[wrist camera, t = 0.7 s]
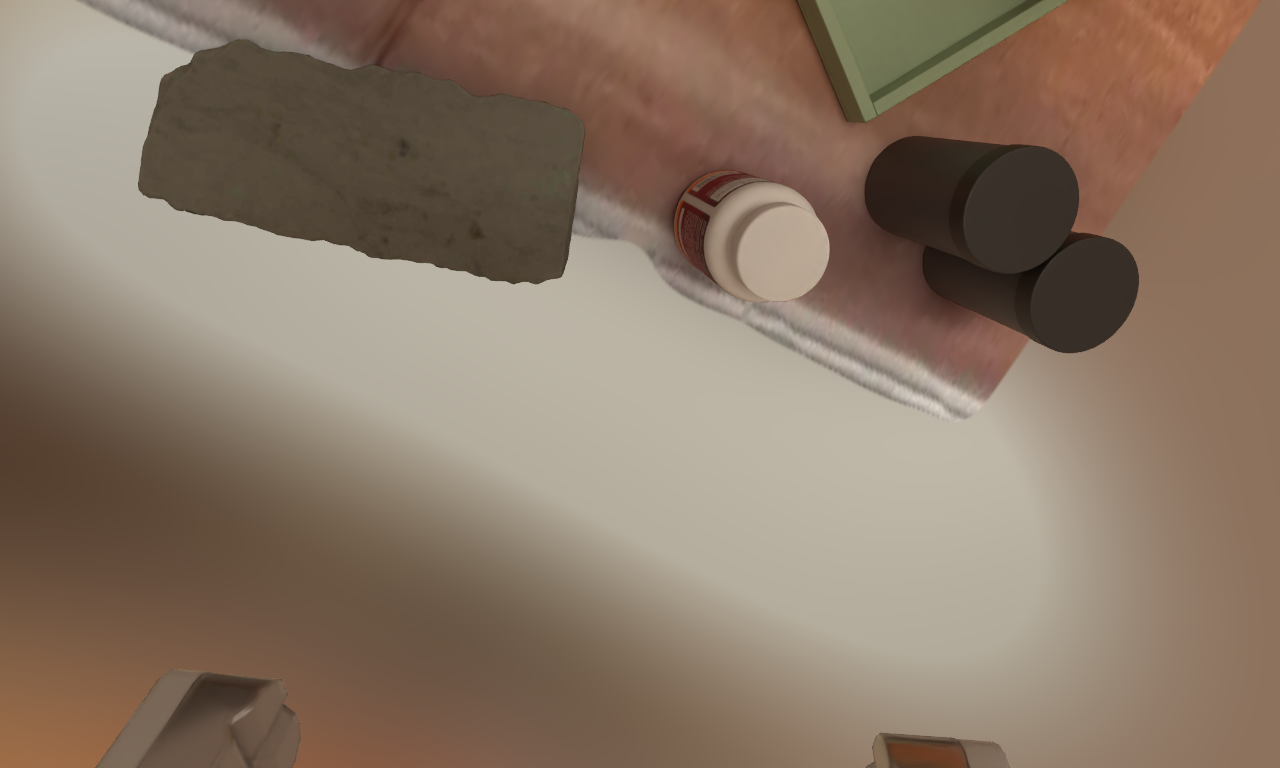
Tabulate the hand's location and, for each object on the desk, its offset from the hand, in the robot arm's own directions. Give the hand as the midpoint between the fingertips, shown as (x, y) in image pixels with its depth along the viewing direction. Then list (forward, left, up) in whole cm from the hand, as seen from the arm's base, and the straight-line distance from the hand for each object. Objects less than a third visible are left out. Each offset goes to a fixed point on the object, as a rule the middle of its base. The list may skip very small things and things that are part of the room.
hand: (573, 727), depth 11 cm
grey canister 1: (+21, +13, -38) cm, 45 cm away
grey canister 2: (+27, +11, -38) cm, 48 cm away
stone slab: (-10, +6, -37) cm, 38 cm away
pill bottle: (+11, +6, -38) cm, 40 cm away
